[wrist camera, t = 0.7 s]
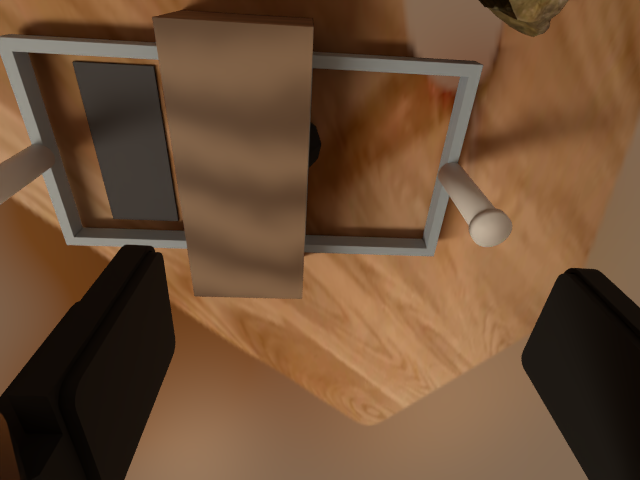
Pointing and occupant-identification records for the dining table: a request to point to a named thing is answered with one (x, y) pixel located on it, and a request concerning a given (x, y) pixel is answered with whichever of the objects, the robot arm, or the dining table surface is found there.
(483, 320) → the dining table surface
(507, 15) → the rock
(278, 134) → the tunnel
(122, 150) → the dark grey flat slab
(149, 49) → the gray frame
